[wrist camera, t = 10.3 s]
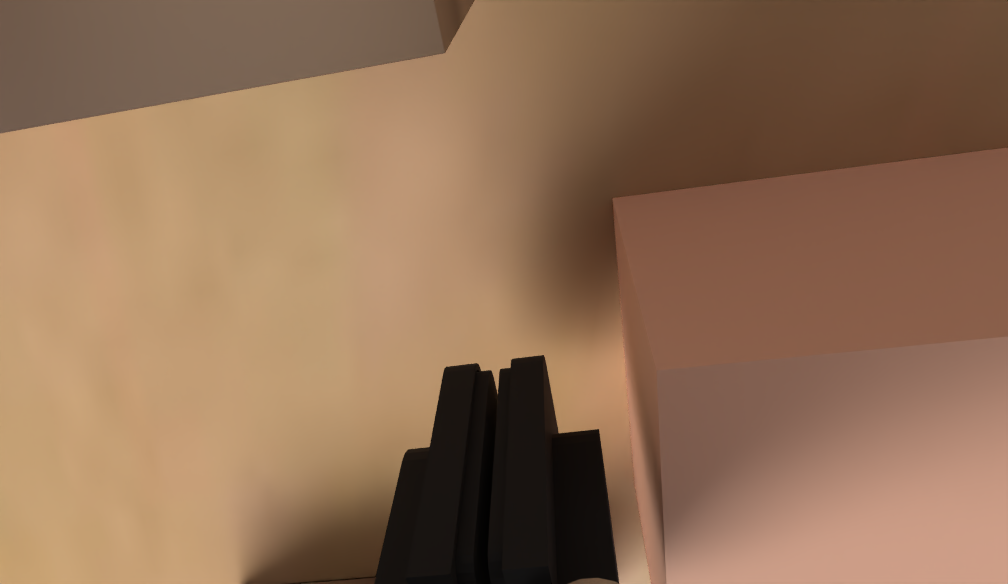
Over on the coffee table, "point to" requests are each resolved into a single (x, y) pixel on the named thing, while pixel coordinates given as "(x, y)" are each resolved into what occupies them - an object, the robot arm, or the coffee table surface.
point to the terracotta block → (821, 374)
